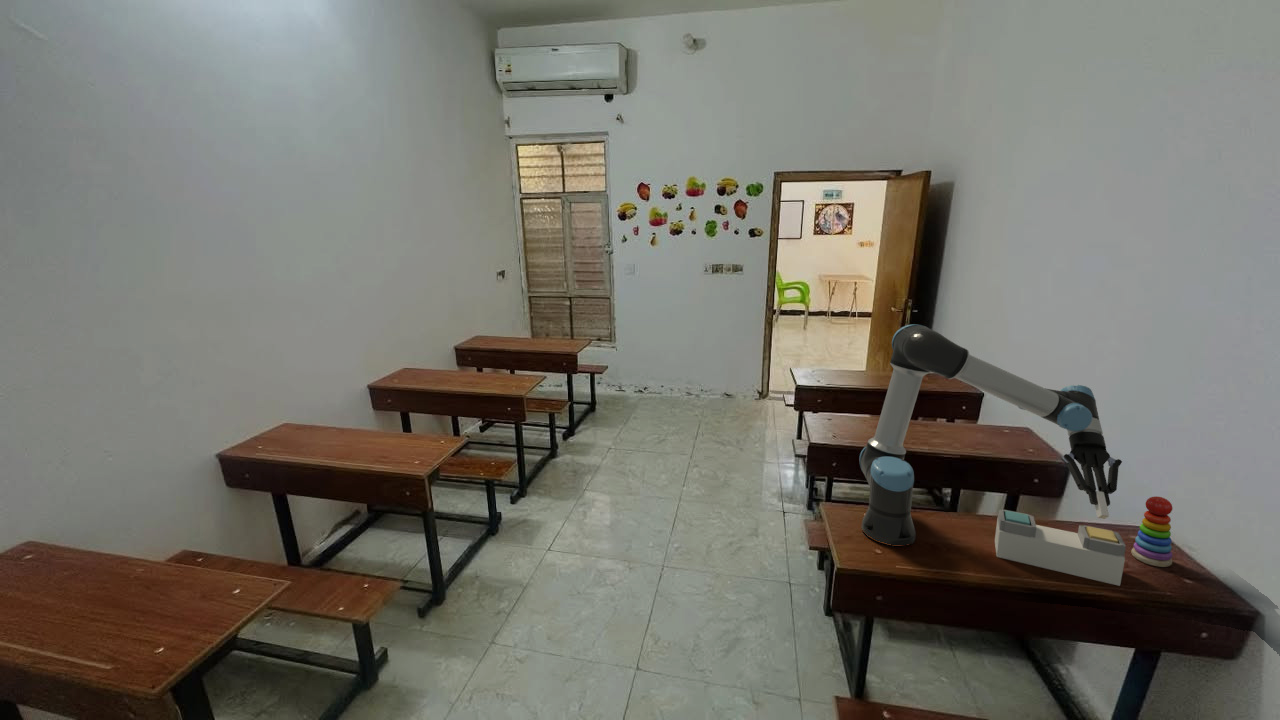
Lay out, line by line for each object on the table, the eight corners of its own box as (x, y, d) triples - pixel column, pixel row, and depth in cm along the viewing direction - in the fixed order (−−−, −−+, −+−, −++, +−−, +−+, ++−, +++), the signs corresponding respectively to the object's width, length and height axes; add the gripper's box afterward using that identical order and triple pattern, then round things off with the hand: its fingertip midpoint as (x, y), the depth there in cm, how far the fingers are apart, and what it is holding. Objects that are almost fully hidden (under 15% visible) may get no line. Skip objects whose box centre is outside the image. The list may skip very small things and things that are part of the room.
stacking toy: (1153, 551, 140) (1165, 491, 136) (1180, 569, 132) (1193, 505, 129) (1122, 550, 141) (1133, 491, 137) (1148, 568, 133) (1160, 505, 129)
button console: (996, 556, 141) (1000, 521, 138) (994, 541, 148) (998, 507, 146) (1120, 586, 127) (1127, 547, 125) (1111, 567, 134) (1117, 530, 132)
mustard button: (1089, 547, 130) (1091, 535, 130) (1084, 537, 135) (1086, 526, 134) (1115, 553, 128) (1117, 540, 127) (1110, 543, 132) (1112, 531, 131)
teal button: (1005, 529, 140) (1006, 518, 139) (1003, 521, 144) (1005, 510, 143) (1028, 534, 137) (1029, 523, 136) (1026, 525, 141) (1027, 514, 141)
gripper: (1108, 443, 142) (1128, 525, 130) (1052, 438, 147) (1066, 516, 135) (1120, 432, 136) (1142, 517, 124) (1062, 427, 141) (1078, 508, 129)
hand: (1103, 516), depth 130 cm, fingers closed
